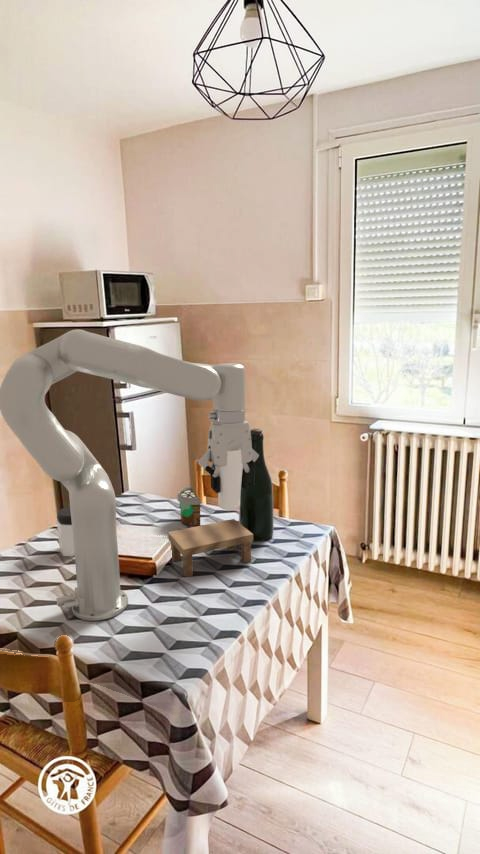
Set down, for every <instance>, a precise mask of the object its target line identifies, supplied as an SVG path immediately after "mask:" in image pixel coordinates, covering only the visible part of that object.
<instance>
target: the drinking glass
mask: <svg viewBox="0 0 480 854" xmlns="http://www.w3.org/2000/svg"><path fill="white" fill-rule="evenodd" d="M242 473H243V464H242V457H241V449H239V450H233V451H227V465H226V466H222V467H220V471H219V473H218V476H219V477H220V492H219V493H217V503H218V504H217V505H218V507H219V508H220V509H222V510H226V511H233V510H237V509H239V506H240V495H241V483H242Z"/></svg>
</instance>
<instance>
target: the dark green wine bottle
mask: <svg viewBox="0 0 480 854" xmlns="http://www.w3.org/2000/svg"><path fill="white" fill-rule="evenodd" d="M250 433H251V442H252V449H253V450H254V451H256V452H257V453H258V454H259V457H258V458H257V460H256V461H255V462H254V464H253V465H252V467H251V468H250V469H249V472H248V473H247V484H246V488H245V489H243V488H242V487H241V495H240V506H239V507H238V523H240V524H241V525H242V526H243V527H245V528H246V529H247V530H249V531H250V532H251V533H252V534H253V541H252V542H260V541H261V542H262V541H265V540H268V539H270V538H272V536H273V535H274V528H275V527H274V525H275V524H274V521H275V520H274V489H273V488H274V487H273V480H272V477H271V474H270V472H269V469H268V467H267V463H266V460H265V453H264V434H263V430H262V429H261V428H252V429H250Z"/></svg>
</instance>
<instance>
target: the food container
mask: <svg viewBox="0 0 480 854" xmlns="http://www.w3.org/2000/svg"><path fill="white" fill-rule="evenodd" d="M176 498H177V501H178V502H179V511H180V519H181V523H182V525H184V526H186V527H189V528H192V527H197V526H201V504H202V503H201V497H198V495H197V494H196V492H195V491H194V489H193V486H188V487H183V488H181V489H180V490H179V491H178V494H177V497H176Z"/></svg>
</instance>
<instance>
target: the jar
mask: <svg viewBox="0 0 480 854" xmlns="http://www.w3.org/2000/svg"><path fill="white" fill-rule="evenodd" d="M56 515H57V516H56V518H57V520H56V523H57V525H56V526H57V534H58V546H59V551H60V552H61V555H62V556H63V557H75V553H74V544H73V532H72V520H71V511H70V506H67V507H63V508H61V509H59V510H58V511H57V514H56Z"/></svg>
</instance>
